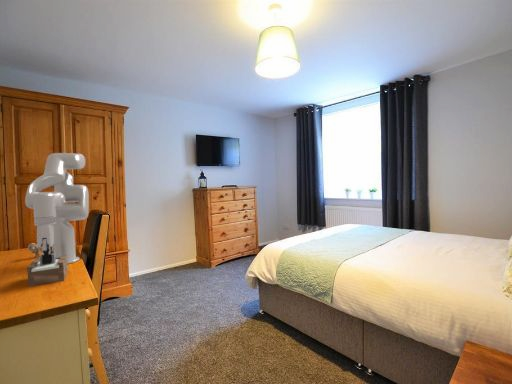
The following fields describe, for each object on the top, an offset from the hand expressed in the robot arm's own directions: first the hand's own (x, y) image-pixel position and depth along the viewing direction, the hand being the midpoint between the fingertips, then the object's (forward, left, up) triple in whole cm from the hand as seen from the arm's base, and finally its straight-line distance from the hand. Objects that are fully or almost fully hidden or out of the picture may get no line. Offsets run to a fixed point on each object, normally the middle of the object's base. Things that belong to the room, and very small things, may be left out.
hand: (48, 262), depth 117 cm
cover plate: (0, 0, -2) cm, 2 cm away
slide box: (-1, 0, -8) cm, 8 cm away
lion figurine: (-51, -10, -8) cm, 53 cm away
